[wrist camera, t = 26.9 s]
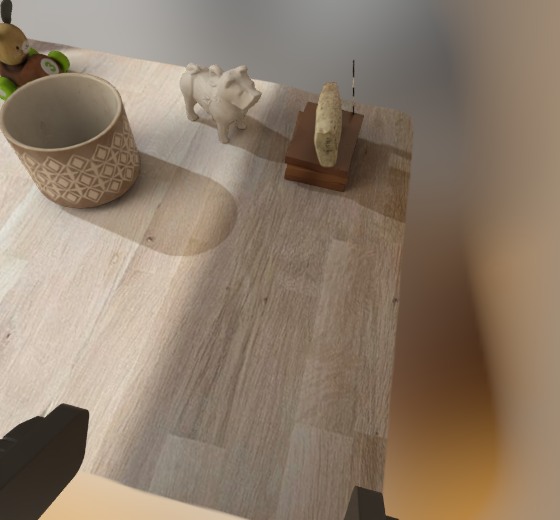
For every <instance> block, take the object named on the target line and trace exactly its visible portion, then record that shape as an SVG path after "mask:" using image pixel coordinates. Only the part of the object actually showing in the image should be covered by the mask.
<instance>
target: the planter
mask: <svg viewBox="0 0 560 520" xmlns="http://www.w3.org/2000/svg"><path fill="white" fill-rule="evenodd" d="M0 129H1V131H2V133H3V134H4V136H5V137H6V139H7V140H8V142H9V143H10V145H11V147H12V148H13V150H14V151H15V153H16V154H17V156H18V157H19V159H20V160H21V162H22V163H23V165H24V166H25V168H26V170H27V171H28V173H29V174H30V176H31V177H32V179H33V180H34V182H35V183H36V185H37V186H38V188H39V189H40V191H41V192H42V193H43V195H44V196H46V197H47V198H48V199H49V200H51V201H53V202H55V203H57V204H59V205H62V206H66V207H72V208H88V207H95V206H99V205H102V204H105V203H108V202H110V201H112V200H114V199H116V198H118V197H120V196H121V195H122V194H124V193H125V192H126V191H127V190H128V189H129V188H130V187H131V186H132V185H133V184H134V182H135V181H136V179H137V177H138V174H139V171H140V157H139V153H138V150H137V147H136V144H135V141H134V137H133V134H132V131H131V128H130V125H129V122H128V118H127V115H126V112H125V109H124V106H123V103H122V99H121V96H120V94H119V92H118V91H117V89H116V88H115V87H114V86H113V85H111V84H110V83H109V82H107V81H106V80H104V79H102V78H99V77H96V76H93V75H89V74H83V73H60V74H54V75H49V76H45V77H42V78H39V79H36V80H34V81H31V82H29V83H27V84H25V85H23V86H22V87H20V88H19V89H17V90H16V91H15V92H14V93H12V94H11V95H10V96H9V97H8V98H7V100H6V101H5V102H4V104H3V106H2V108H1V110H0Z"/></svg>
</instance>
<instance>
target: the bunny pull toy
mask: <svg viewBox="0 0 560 520" xmlns="http://www.w3.org/2000/svg"><path fill="white" fill-rule="evenodd" d="M0 7H1V18H2V20H3V22H4V23H0V76H1V77H0V98H1V99H3V100H7V98H8V97H9V96H10V95H11V94H12V93H14V92H15V91H16V90H17V89H19V88H20V87H22V86H23V85H25V84H27V83H29V82H31V81H34V80H36V79H39V78H42V77H45V76H49V75H54V74H60V73H65V72H66V71H67V70H68V68H69V66H70V64H69V60H68V58H67V57H66V56H65V55H64V54H62V53H61V52H58V51H51V52H50V53H49V54H48V56H46V55H43V54H39V53H38V52H37V51H36V50H34V49H33V48H31V47H30V46H29V43H28V41H27V39H26V36H25V35H24V33H23V32H22V31H21V30H20V29H19V28H18V27H16V26H14V25H12V24H10V23H11V12H12V2H11V1H10V0H3V1H2V2H1V5H0Z"/></svg>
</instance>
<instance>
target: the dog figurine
mask: <svg viewBox="0 0 560 520" xmlns="http://www.w3.org/2000/svg"><path fill="white" fill-rule="evenodd" d="M254 86H255V85H254V82H253V81H252V80H251V79H250V78H249V76H248V74H247V67H246V66H245V65H242V66H240V67H238V68H234V69H230V70H228V71H227V72H226V73H224V72H223V70H222V69H221V68H220V67H219V66H218V65H215V64H214V65H211V66H210V68H209V69H208V68H206V67H204V66H199V65H196V64H195V63H189V64H188V66H187V68H186V71H185V73H184V74H183V75H182V77H181V79H180V88H181V91H182V93H183V96H184V100H185V104H186V110H187V117H188V119H190V120H192V121H193V120H195V119H197V118H198V116H197V115H196V114H195V112H194V105H195V104H196V103H197V102H198V103H199V104H200V105H201V106H202V107H203V108H204V109H205V110H206V111H207V112H208V113H209V114H211V116H212V118H213V119H214V120H215V121H216V123H217V127H218V136H219V141H220V142H222V143H227V142H228V141H229V139H228V137H227V134H228V129H229V125H230V123H232V122H233V121H235V120H236V123H235V124H236V125H237V128H239V129H245V128H246V127H247V126H246V124H245V122H244V116H245V114H246V113H247V112H248V109H249V108H250V107H252V106H253V105H254V104H256V103H257V102H258V100H259V99H260V97H261V95H262V93H261V92H259V91H257V90H256V88H255V87H254Z"/></svg>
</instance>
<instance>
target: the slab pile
mask: <svg viewBox="0 0 560 520" xmlns="http://www.w3.org/2000/svg"><path fill="white" fill-rule="evenodd" d="M317 106H318V104H316V103H312V102H308V103H307V105H306V107H305V110H304V112H302V111H299V114H298V118H297V123H296V127H295V132H294V136H293V139H292V141H291V144H290V146H289V148H288V151H287V153H286V156H285V163H287V167H286V171H285V177H284V178H285V179H288V180H293V181H297V182H302V183H306V184H310V185H315V186H319V187H324V188H328V189H333V190H337V191H342V192H343V191H344V188H345V184H347V182H348V178H349V170H350V162H351V158H352V155H353V152H354V148H355V145H356V142H357V138H358V135H359V132H360V128H361V125H362V121H363V118H364V115H361V114H356V113H354V115H353V113H352V112H348V111H344V110H342V129H341V136H340V142H339V144H338V154H337V161H336V164H335V166H333V167H329V168H328V167H327V168H324V167H322V166H321V164H320V162H319V159H318V157H317V153H316V149H315V143H314V134H315V126H316V109H317Z"/></svg>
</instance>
